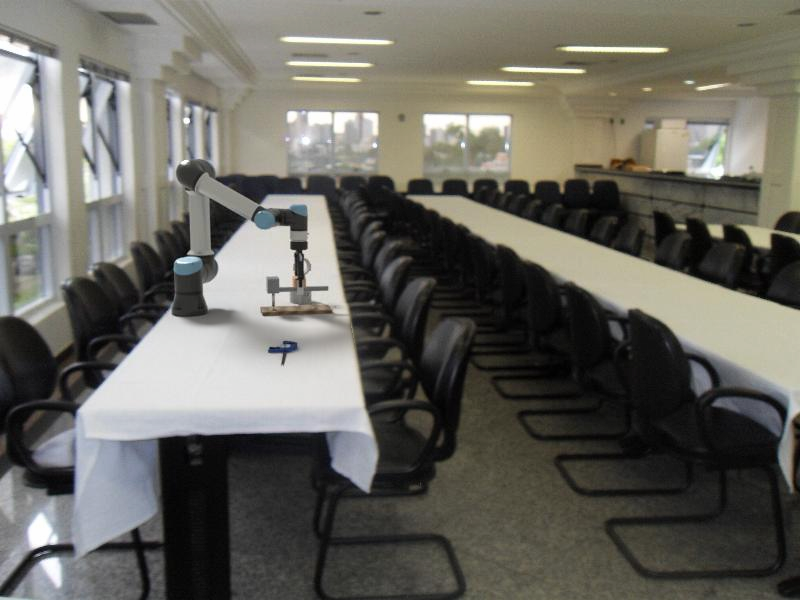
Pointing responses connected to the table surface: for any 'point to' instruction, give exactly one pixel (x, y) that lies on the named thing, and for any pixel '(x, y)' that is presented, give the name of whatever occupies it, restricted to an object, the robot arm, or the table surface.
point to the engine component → (307, 294)
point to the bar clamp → (284, 349)
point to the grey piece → (286, 288)
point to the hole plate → (296, 310)
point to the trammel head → (296, 287)
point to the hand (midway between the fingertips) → (299, 293)
